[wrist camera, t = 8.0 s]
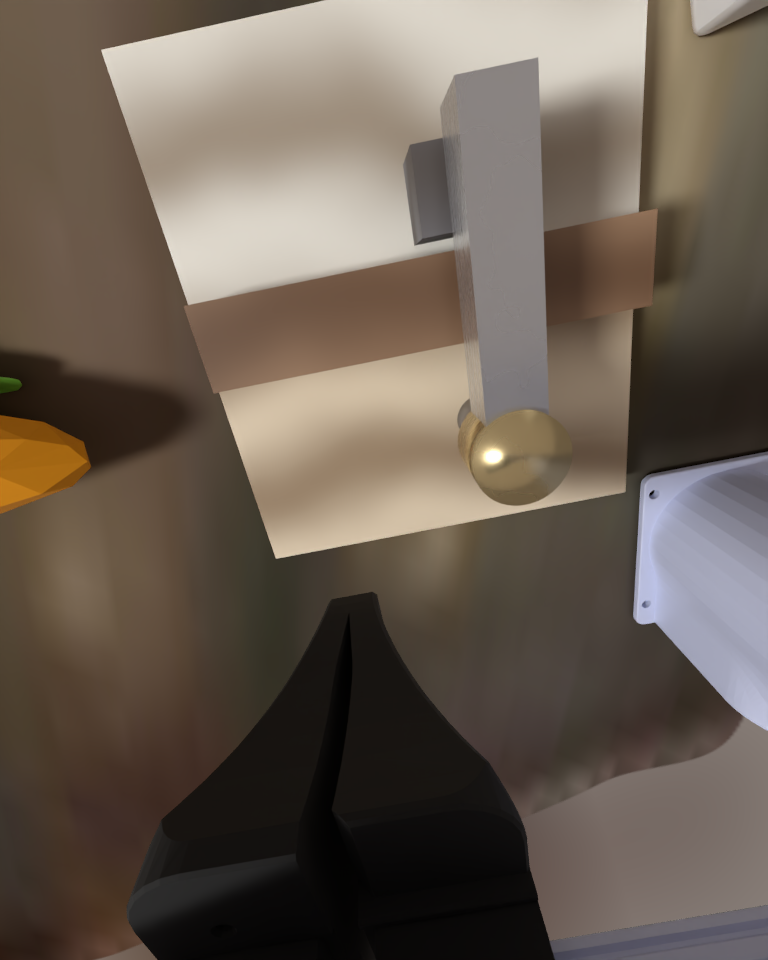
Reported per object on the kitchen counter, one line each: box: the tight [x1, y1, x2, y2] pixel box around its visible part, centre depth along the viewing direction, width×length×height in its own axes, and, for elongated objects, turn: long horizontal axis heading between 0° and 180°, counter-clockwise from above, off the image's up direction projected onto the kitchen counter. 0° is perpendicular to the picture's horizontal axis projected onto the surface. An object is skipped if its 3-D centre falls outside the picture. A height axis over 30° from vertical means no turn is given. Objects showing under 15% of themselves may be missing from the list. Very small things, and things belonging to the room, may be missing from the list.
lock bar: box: [440, 57, 573, 506], centre depth 13 cm, size 12×3×2 cm, turn 10°
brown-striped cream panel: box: [101, 0, 658, 559], centre depth 16 cm, size 19×17×4 cm
